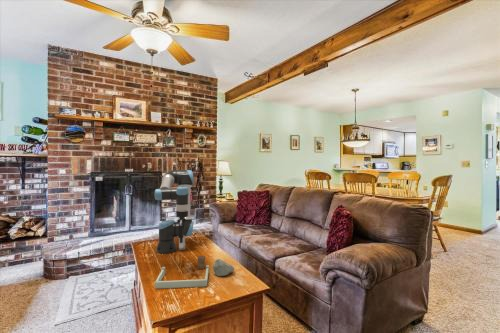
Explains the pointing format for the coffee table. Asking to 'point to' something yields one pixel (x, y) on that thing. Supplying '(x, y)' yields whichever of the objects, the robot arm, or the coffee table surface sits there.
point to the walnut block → (201, 262)
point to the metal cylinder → (184, 246)
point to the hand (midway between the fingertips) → (181, 246)
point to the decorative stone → (222, 268)
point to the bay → (180, 281)
